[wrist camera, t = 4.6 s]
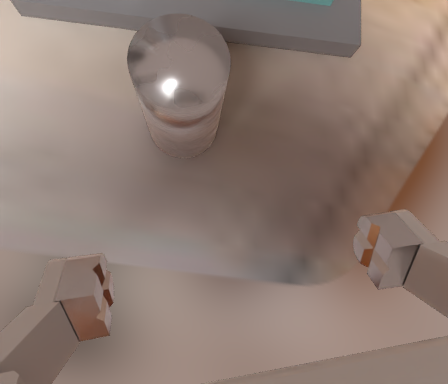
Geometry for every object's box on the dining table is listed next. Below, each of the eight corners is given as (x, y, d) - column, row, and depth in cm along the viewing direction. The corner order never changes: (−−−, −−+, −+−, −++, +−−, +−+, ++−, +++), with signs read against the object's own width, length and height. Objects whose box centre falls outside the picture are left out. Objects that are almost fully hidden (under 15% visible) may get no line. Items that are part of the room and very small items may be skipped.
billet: (214, 161, 23) (227, 113, 15) (145, 154, 22) (120, 101, 14) (219, 97, 23) (234, 20, 16) (153, 90, 23) (133, 7, 15)
